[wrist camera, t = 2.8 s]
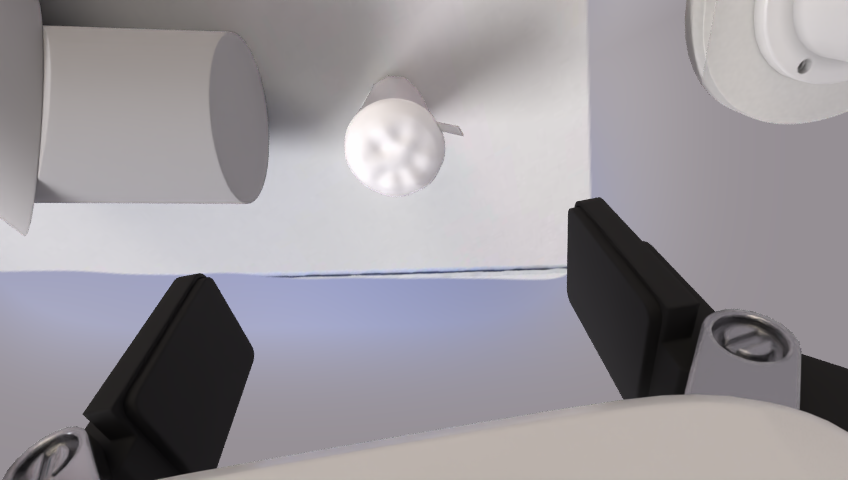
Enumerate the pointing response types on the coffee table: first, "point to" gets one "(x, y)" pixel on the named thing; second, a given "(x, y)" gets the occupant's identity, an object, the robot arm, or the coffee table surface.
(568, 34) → the coffee table surface
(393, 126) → the milkshake
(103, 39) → the elbow connector
